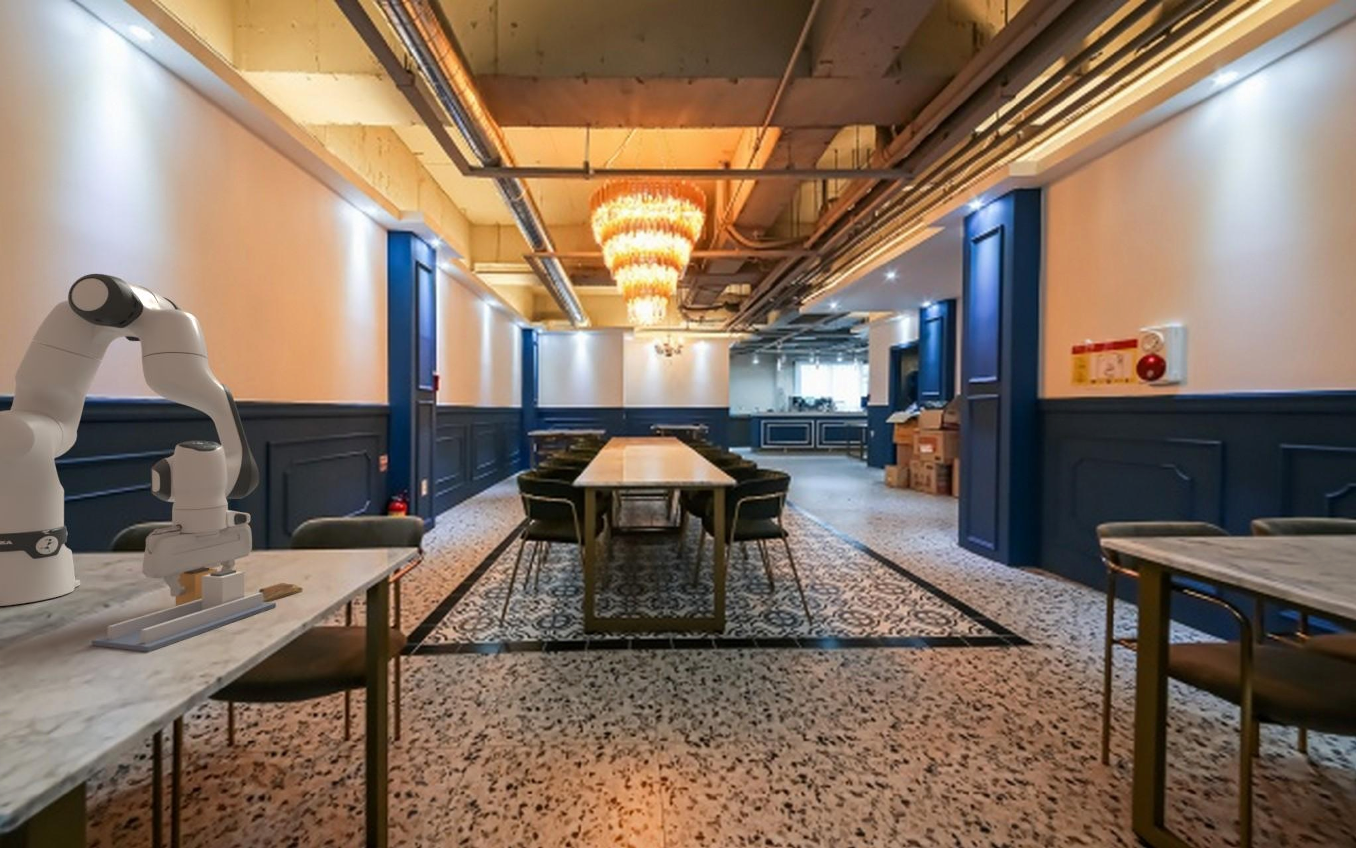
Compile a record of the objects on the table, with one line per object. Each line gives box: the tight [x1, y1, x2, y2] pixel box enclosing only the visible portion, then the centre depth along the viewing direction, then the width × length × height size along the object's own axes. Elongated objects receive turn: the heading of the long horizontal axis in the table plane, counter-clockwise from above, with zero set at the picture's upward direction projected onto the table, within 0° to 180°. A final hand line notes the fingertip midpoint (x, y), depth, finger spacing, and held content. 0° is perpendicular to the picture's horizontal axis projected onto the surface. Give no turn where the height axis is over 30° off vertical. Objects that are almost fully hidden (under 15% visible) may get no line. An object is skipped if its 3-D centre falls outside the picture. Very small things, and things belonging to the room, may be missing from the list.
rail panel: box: [90, 569, 277, 653], centre depth 110 cm, size 12×24×8 cm, turn 168°
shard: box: [258, 582, 304, 603], centre depth 128 cm, size 11×8×2 cm
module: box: [175, 567, 218, 606], centre depth 121 cm, size 5×4×7 cm
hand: (201, 588), depth 122 cm, fingers open, 8 cm apart
